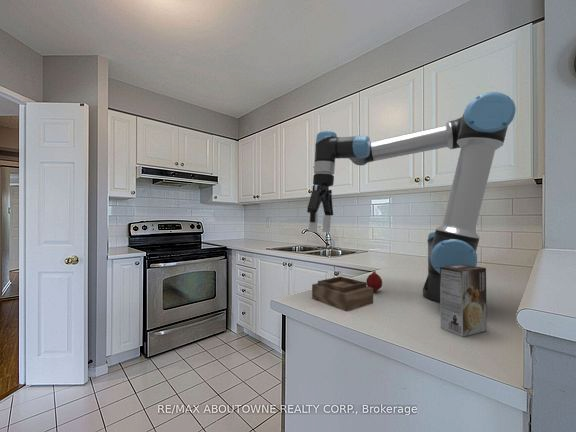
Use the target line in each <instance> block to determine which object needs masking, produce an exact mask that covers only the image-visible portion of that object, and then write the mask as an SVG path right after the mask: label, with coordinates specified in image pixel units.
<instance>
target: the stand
mask: <svg viewBox="0 0 576 432" xmlns="http://www.w3.org/2000/svg"><path fill="white" fill-rule="evenodd" d="M311 299H312V300H314V301H318V302H320V303H324V304H325V305H329V306H331V307H334V308H337V309H340V310H343V311H345V312H349V311H353V310H355V309H358V308H361V307H362V308H363V307H364V306H367V305H372V304H374V292H373V288H371V287H368V286H367V283H366V282H365V281H362V280H356V279H353V278H349V277H345V276H337V277H331V278H326V279H322V280H318V281H317V283H312V284H311Z"/></svg>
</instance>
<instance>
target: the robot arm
mask: <svg viewBox="0 0 576 432" xmlns="http://www.w3.org/2000/svg"><path fill="white" fill-rule="evenodd" d="M516 110H517V109H516V105H515V101H514V100H513V99H512V98H511V97H509V95H507V94H505V93H502V92H498V91H489V92H485V93H482V94H479V95H477V96H476V97H474V98H473V99H472V100H471V101H470V102H469V103H468V104H467V105H466V107H465V108H464V112H463V114H462V116H461V117H459V118H456V119H453V120H450V121H449V120H448V121H447V122H446V123H445V124H444V125H441V126H435V127H431V128H427V129H423V130H418V131H413V132H410V133H409V132H408V133H405V134H400V135H396V136H391V137H388V138H382V139H378V140H374V141H371V138H370V137H369V136H368V135H354V136H352V135H351V136H343V137H342V136H341V137H340V136H337V133H336V132H335V131H332V130H330V131H329V130H323V131H319V132H318V133H317V135H316V140H315V144H314V146H315V148H314V163H313V164H314V165H313V167H312V168H313V173H314V174H313V176H312V177H313V179H312V184H313V185H312V189H311V194H310V197H309V202H308V204H307V208H306V209H307V210H306V211H307V213H309V224H308V233H317V232H318V220H319V213H318V211H319V208H320V206H321V205H322V208H323V213H324V215H323V218H322V220H323V221H322V233H330V231H331V220H332V218H331V216H334V209H333V208H334V207H333V198H332V195H333V194H332V193H333V191H332V189H329V187H332V186H334V183H335V182H334V181H335V176H334V174H335V171H336V170H335V169H336V168H335V167H336V159H349V160H350V161H351V162H352V163H353V164H354V165H356V166H365V165H367V164H369V163H372V162H377V161H381V160H387V159H392V158H397V157H403V156H407V155H412V154H418V153H423V152H424V153H425V152H429V151H434V150H438V149H445V148H448V149H449V150H454V149H460V152H459V155H458V159H457V162H456V163H457V164H456V168H455V172H454V176H453V181H452V184H451V188H450V191H449V192H450V193H449V197H448V201H447V205H446V210H445V214H444V217H443V222H442V224H441V225H440V226H438V227H437V228H435V231H434V232H430V233H429V234H428V236H427V239H426V240H427V272H428V273H427V276H426V279H425V281H424V284H423V288H422V296H423V297H424V298H426V299H428V300H430V301H434V302H439V303H440V267H444V266H453V265H462V264H463V265H470V266H476V267H477V263H478V255H477V249H478V246H479V245H478V244H479V241H480V236H479V234H478V233H477V231H476V229H477V224H478V220H479V217H480V212H481V208H482V203H483V201H484V196H485V193H486V189H487V185H488V180H489V177H490V173H491V170H492V169H491V168H492V164H493V160H494V157H495V154H496V151H497V150H498V149H500V148H501V147H503V146H504V143H505V139H506V135H507V133H508V132H507V131H508V127H509V125H510V124H511V123H512V122H513V120H514V118H515V116H516V115H515V114H516ZM321 203H322V204H321Z"/></svg>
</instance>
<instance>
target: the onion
mask: <svg viewBox="0 0 576 432" xmlns="http://www.w3.org/2000/svg"><path fill="white" fill-rule="evenodd" d="M365 281H366V286H367V287H371V288H373V293H375V292H377V291H379V290H380V288H382V286H383V279H382V277H381V276H380V275H379V274H378V273H377V272H376V271H375V270H373V271H372V273H371V274H369V275H368V276H367V277H366V280H365Z"/></svg>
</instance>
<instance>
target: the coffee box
mask: <svg viewBox="0 0 576 432" xmlns="http://www.w3.org/2000/svg"><path fill="white" fill-rule="evenodd" d="M439 303H440V305H439V307H440V313H439V314H440V329H442V330H445V331H448V332H451V333H453V334H455V335H457V336H459V337H461V338H466V337H469V336H472V335H476V334H479V333H482V332H486V331H487V330H488V328H487V327H488V326H487V325H488V323H487V322H488V321H487V317H488V316H487V313H488V312H487V310H488V309H487V268H486V267H480V266H477V265H476V266H470V265H463V264H462V265H453V266H444V267H440V302H439Z"/></svg>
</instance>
